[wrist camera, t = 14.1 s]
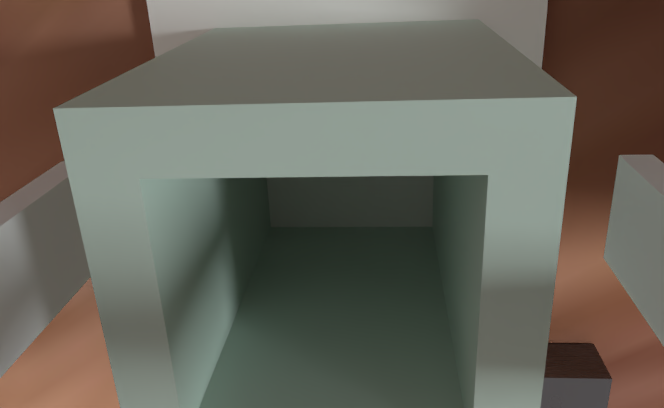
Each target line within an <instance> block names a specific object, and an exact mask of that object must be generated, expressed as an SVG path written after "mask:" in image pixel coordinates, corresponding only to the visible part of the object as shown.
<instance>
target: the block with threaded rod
mask: <svg viewBox="0 0 664 408" xmlns="http://www.w3.org/2000/svg"><path fill="white" fill-rule="evenodd" d="M611 382H612V378H611V376H610V374H609V372H608V370H607V368H606V366H605V365H604V363H603V361H602V359H601V357H600V355H599V353H598V351H597V349H596V347H595V345H594V344H555V343H548V347H547V356H546V364H545V373H544V381H543V390H542V398H541V407H540V408H607V406H608V400H609V394H610V388H611Z"/></svg>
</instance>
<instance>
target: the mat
mask: <svg viewBox="0 0 664 408" xmlns="http://www.w3.org/2000/svg"><path fill="white" fill-rule="evenodd" d="M146 1H147V8H148V14H149V21H150V27H151V34H152V40H153V47H154V53H155V58H156V57H158V56H160V55H162V54H164V53H166V52H168V51H170V50H172V49H174V48H176V47H178V46H180V45H182V44H184V43H186V42H188V41H190V40H192V39H194V38H196V37H198V36H200V35H202V34H204V33H206V32H208V31H210V30H212V29H214V28H233V27H263V26H292V25H322V24H351V23H381V22H411V21H440V20H470V19H479V20H480V21H481V22H483V23H484V24H485V25H486V26H488V27H489V28H490V29H492V30H493V31H494V32H495V33H497V34H498V35H499V36H500V37H502V38H503V39H504V40H506V41H507V42H508V43H509V44H511V45H512V46H513V47H514V48H516V49H517V50H518V51H519V52H521V53H522V54H523V55H525V56H526V57H527V58H528V59H530V60H531V61H532V62H533V63H535V64H536V65H537V66H539V67H540V68H541V69H542V60H543V50H544V39H545V28H546V17H547V6H548V0H146ZM433 182H434V176H356V177H269V178H267V188H268V199H269V210H270V222H271V227H432V221H433Z"/></svg>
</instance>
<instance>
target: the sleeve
mask: <svg viewBox="0 0 664 408" xmlns="http://www.w3.org/2000/svg"><path fill="white" fill-rule="evenodd" d="M576 101H577V96H575V95H574V94H573V93H572V92H570V91H569V90H568V89H566V88H565V87H564V86H563V85H561V84H560V83H559V82H558V81H556V80H555V79H554V78H553V77H551V76H550V75H549V74H547V73H546V72H545V71H544V70H542V69H541V68H540V67H539V66H537V65H536V64H535V63H533V62H532V61H531V60H530V59H528V58H527V57H526V56H525V55H523V54H522V53H521V52H519V51H518V50H517V49H516V48H514V47H513V46H512V45H511V44H509V43H508V42H507V41H506V40H504V39H503V38H502V37H500V36H499V35H498V34H497V33H495V32H494V31H493V30H492V29H490V28H489V27H488V26H486V25H485V24H484V23H483V22H481V21H480V20H479V19H470V20H440V21H411V22H381V23H351V24H322V25H292V26H263V27H233V28H214V29H212V30H210V31H208V32H206V33H204V34H202V35H200V36H198V37H196V38H194V39H192V40H190V41H188V42H186V43H184V44H182V45H180V46H178V47H176V48H174V49H172V50H170V51H168V52H166V53H164V54H162V55H160V56H158V57H156V58H154V59H152V60H150V61H148V62H146V63H144V64H142V65H140V66H138V67H136V68H133V69H131V70H129V71H127V72H125V73H123V74H121V75H119V76H117V77H115V78H113V79H111V80H109V81H107V82H105V83H103V84H101V85H99V86H97V87H95V88H93V89H91V90H89V91H87V92H85V93H83V94H81V95H79V96H77V97H75V98H73V99H71V100H69V101H67V102H65V103H63V104H61V105H59V106H57V107H55V108H53V112H54V116H55V120H56V125H57V129H58V134H59V138H60V143H61V147H62V151H63V156H64V160H65V165H66V169H67V174H68V178H69V182H70V187H71V191H72V196H73V200H74V205H75V209H76V213H77V218H78V222H79V227H80V231H81V236H82V240H83V244H84V249H85V253H86V258H87V262H88V267H89V271H90V275H91V280H92V284H93V289H94V293H95V298H96V302H97V307H98V311H99V315H100V320H101V324H102V329H103V333H104V338H105V342H106V346H107V351H108V355H109V360H110V364H111V369H112V373H113V377H114V382H115V386H116V391H117V395H118V400H119V404H120V408H540V407H541V398H542V390H543V381H544V373H545V364H546V356H547V347H548V339H549V330H550V322H551V313H552V305H553V296H554V288H555V279H556V271H557V262H558V254H559V245H560V237H561V228H562V220H563V211H564V203H565V194H566V186H567V177H568V169H569V160H570V152H571V143H572V135H573V126H574V118H575V109H576ZM356 176H434V182H433V221H432V227H271V222H270V210H269V199H268V188H267V178H269V177H356Z"/></svg>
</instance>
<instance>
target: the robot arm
mask: <svg viewBox="0 0 664 408" xmlns="http://www.w3.org/2000/svg"><path fill="white" fill-rule="evenodd" d="M604 259H605V261H606V262H607V264H608V265H609V266H610V268H611V269H612V271H613V272H614V274H615V275H616V277H617V278H618V280H619V281H620V283H621V284H622V286H623V287H624V289H625V290H626V292H627V293H628V295H629V296H630V297H631V299H632V300H633V302H634V303H635V305H636V306H637V308H638V309H639V311H640V312H641V314H642V315H643V317H644V318H645V320H646V321H647V323H648V324H649V326H650V327H651V328H652V330H653V331H654V333H655V334H656V336H657V337H658V339H659V340H660V342H661V343H662V345H663V346H664V163H663V162H662V161H660V160H659V159H658V158H657V157H655V156H654V155H619V159H618V166H617V172H616V179H615V186H614V192H613V199H612V205H611V212H610V218H609V225H608V232H607V238H606V245H605V251H604ZM90 277H91V275H90V271H89V267H88V262H87V258H86V253H85V249H84V244H83V240H82V236H81V231H80V227H79V222H78V218H77V213H76V209H75V205H74V200H73V196H72V191H71V187H70V182H69V178H68V174H67V169H66V165H65V161H61V162H60V163H58V164H57V165H55V166H54V167H52V168H51V169H49V170H48V171H46V172H45V173H43V174H42V175H40V176H39V177H37V178H36V179H34V180H33V181H31V182H30V183H28V184H27V185H25V186H24V187H22V188H21V189H19V190H18V191H16V192H15V193H13V194H12V195H10V196H9V197H7V198H6V199H4V200H3V201H1V202H0V378H1V377H2V376H3V374H4V373H5V372H6V371H7V370H8V369H9V368H10V367H11V365H12V364H13V363H14V362H15V361H16V360H17V359H18V358H19V357H20V355H21V354H22V353H23V352H24V351H25V350H26V349H27V348H28V346H29V345H30V344H31V343H32V342H33V341H34V340H35V339H36V337H37V336H38V335H39V334H40V333H41V332H42V331H43V330H44V329H45V327H46V326H47V325H48V324H49V323H50V322H51V321H52V320H53V318H54V317H55V316H56V315H57V314H58V313H59V312H60V311H61V309H62V308H63V307H64V306H65V305H66V304H67V303H68V302H69V300H70V299H71V298H72V297H73V296H74V295H75V294H76V293H77V292H78V290H79V289H80V288H81V287H82V286H83V285H84V284H85V283H86V281H87V280H88V279H89V278H90Z"/></svg>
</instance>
